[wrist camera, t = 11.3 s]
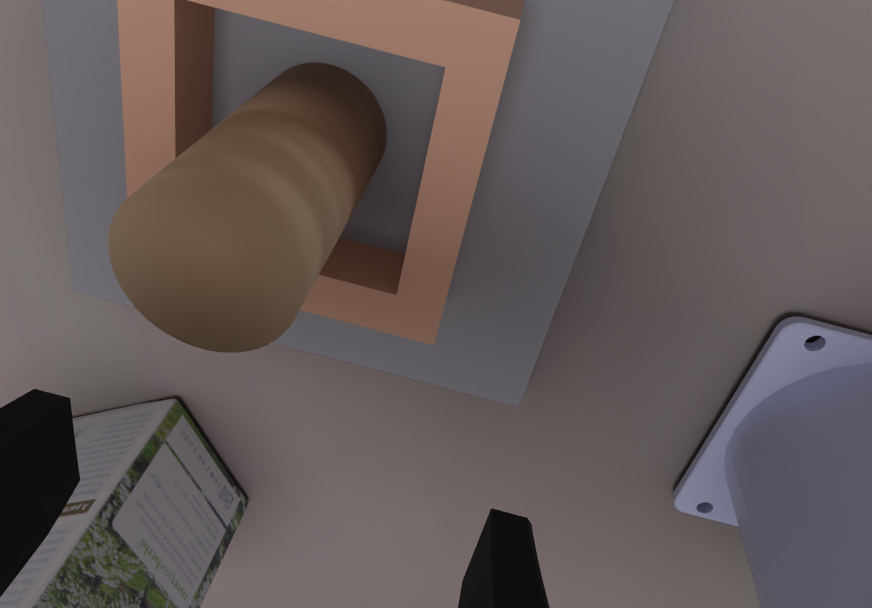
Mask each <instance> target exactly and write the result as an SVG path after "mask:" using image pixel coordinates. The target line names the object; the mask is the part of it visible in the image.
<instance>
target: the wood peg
mask: <svg viewBox="0 0 872 608" xmlns="http://www.w3.org/2000/svg"><path fill="white" fill-rule="evenodd" d="M386 141H387V129H386V122H385V118H384V114H383V112H382V109H381V107H380V105H379V103H378V101H377V99H376V97H375V96H374V95H373V93H372V92H371V90H370V89H369V88H368V87H367V86H366V85H365V84H364V83H363V82H362V81H361V80H360V79H358V78H357V77H356V76H354V75H353V74H351V73H350V72H348V71H346V70H344V69H342V68H340V67H337V66H334V65H330V64H326V63H316V62H314V63H304V64H299V65H296V66H293V67H291V68H289V69H287V70H285V71H283V72H282V73H281V74H280V75H278V76H277V77H276V78H275V79H273V80H272V81H271V82H270V83H268V84H267V85H266V86H265V87H263V88H262V89H261V90H260V91H258V92H257V93H256V94H255V95H254V96H252V97H251V98H250V99H249V100H247V101H246V102H245V103H244V104H242V105H241V106H240V107H239V108H237V109H236V110H235V111H234V112H232V113H231V114H230V115H229V116H228V117H226V118H225V119H224V120H223V121H221V122H220V123H219V124H218V125H216V126H215V127H214V128H213V129H211V130H210V131H209V132H208V133H207V134H205V135H204V136H203V137H202V138H200V139H199V140H198V141H197V142H195V143H194V144H193V145H192V146H190V147H189V148H188V149H187V150H186V151H184V152H183V153H182V154H181V155H179V156H178V157H177V158H176V159H174V160H173V161H172V162H171V163H169V164H168V165H167V166H166V167H165V168H163V169H162V170H161V171H160V172H158V173H157V174H156V175H155V176H153V177H152V178H151V179H150V180H148V181H147V182H146V183H145V184H144V185H142V186H141V187H140V188H139V189H137V190H136V191H135V192H134V193H132V194H131V195H130V196H129V197H127V198H126V199H125V201H124V202H123V203H122V204H121V205H120V206H119V208H118V210H117V211H116V213H115V215H114V217H113V220H112V223H111V225H110V231H109V238H108V248H109V256H110V261H111V265H112V268H113V271H114V274H115V276H116V279H117V281H118V282H119V284H120V286H121V288H122V290H123V291H124V293H125V294H126V296H127V297H128V299H129V300H130V301H131V303H132V304H133V305H134V306H135V307H136V308H137V310H138V311H139V312H140V313H141V314H142V315H143V316H144V317H146V318H147V319H148V320H149V321H150V322H151V323H153V324H154V325H155V326H156V327H158V328H159V329H161V330H162V331H164V332H165V333H167V334H169V335H170V336H172V337H174V338H176V339H178V340H180V341H182V342H185V343H187V344H189V345H192V346H195V347H198V348H202V349H206V350H211V351H217V352H244V351H250V350H254V349H258V348H260V347H263V346H265V345H268V344H269V343H271V342H273V341H275V340H276V339H277V338H279V337H280V336H281V335H282V334H284V332H285V331H286V330H287V329H288V328H289V327H290V326H291V324H292V322H293V321H294V319H295V318H296V316H297V314H298V312H299V310H300V308H301V307H302V305H303V303H304V301H305V299H306V297H307V296H308V294H309V292H310V290H311V288H312V286H313V285H314V283H315V281H316V279H317V277H318V275H319V274H320V272H321V270H322V268H323V266H324V264H325V263H326V261H327V259H328V257H329V255H330V253H331V252H332V250H333V248H334V246H335V244H336V242H337V241H338V239H339V237H340V235H341V233H342V231H343V230H344V228H345V226H346V224H347V222H348V220H349V219H350V217H351V215H352V213H353V211H354V209H355V208H356V206H357V204H358V202H359V200H360V198H361V197H362V195H363V193H364V191H365V189H366V187H367V186H368V184H369V182H370V180H371V178H372V176H373V174H374V173H375V171H376V169H377V167H378V165H379V163H380V162H381V159H382V157H383V155H384V151H385V148H386Z"/></svg>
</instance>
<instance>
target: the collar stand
mask: <svg viewBox="0 0 872 608" xmlns="http://www.w3.org/2000/svg"><path fill="white" fill-rule="evenodd" d="M673 3H674V0H42V8H43V17H44V27H45V36H46V45H47V54H48V63H49V72H50V81H51V90H52V99H53V108H54V118H55V127H56V136H57V145H58V154H59V163H60V172H61V181H62V190H63V200H64V209H65V218H66V227H67V236H68V245H69V254H70V263H71V272H72V282H73V291H75V292H79V293H83V294H87V295H91V296H94V297H98V298H102V299H106V300H110V301H114V302H117V303H121V304H125V305H129V306H133V307H135V306H134V305H133V304H132V303H131V301H130V300H129V299H128V297H127V296H126V294H125V293H124V291H123V290H122V288H121V286H120V284H119V282H118V281H117V279H116V276H115V274H114V271H113V268H112V265H111V261H110V256H109V248H108V238H109V231H110V225H111V223H112V220H113V217H114V215H115V213H116V211H117V210H118V208H119V206H120V205H121V204H122V203H123V202H124V201H125V199H126V198H127V197H129V196H130V195H131V194H132V193H134V192H135V191H136V190H137V189H139V188H140V187H141V186H142V185H144V184H145V183H146V182H147V181H148V180H150V179H151V178H152V177H153V176H155V175H156V174H157V173H158V172H160V171H161V170H162V169H163V168H165V167H166V166H167V165H168V164H169V163H171V162H172V161H173V160H174V159H176V158H177V157H178V156H179V155H181V154H182V153H183V152H184V151H186V150H187V149H188V148H189V147H190V146H192V145H193V144H194V143H195V142H197V141H198V140H199V139H200V138H202V137H203V136H204V135H205V134H207V133H208V132H209V131H210V130H211V129H213V128H214V127H215V126H216V125H218V124H219V123H220V122H221V121H223V120H224V119H225V118H226V117H228V116H229V115H230V114H231V113H232V112H234V111H235V110H236V109H237V108H239V107H240V106H241V105H242V104H244V103H245V102H246V101H247V100H249V99H250V98H251V97H252V96H254V95H255V94H256V93H257V92H258V91H260V90H261V89H262V88H263V87H265V86H266V85H267V84H268V83H270V82H271V81H272V80H273V79H275V78H276V77H277V76H278V75H280V74H281V73H282V72H283V71H285V70H287V69H289V68H291V67H293V66H296V65H299V64H304V63H314V62H316V63H326V64H330V65H334V66H337V67H340V68H342V69H344V70H346V71H348V72H350V73H351V74H353V75H354V76H356V77H357V78H358V79H360V80H361V81H362V82H363V83H364V84H365V85H366V86H367V87H368V88H369V89H370V90H371V92H372V93H373V95H374V96H375V97H376V99H377V101H378V103H379V105H380V107H381V109H382V112H383V114H384V118H385V122H386V129H387V141H386V148H385V151H384V155H383V157H382V159H381V162H380V163H379V165H378V167H377V169H376V171H375V173H374V174H373V176H372V178H371V180H370V182H369V184H368V186H367V187H366V189H365V191H364V193H363V195H362V197H361V198H360V200H359V202H358V204H357V206H356V208H355V209H354V211H353V213H352V215H351V217H350V219H349V220H348V222H347V224H346V226H345V228H344V230H343V231H342V233H341V235H340V237H339V239H338V241H337V242H336V244H335V246H334V248H333V250H332V252H331V253H330V255H329V257H328V259H327V261H326V263H325V264H324V266H323V268H322V270H321V272H320V274H319V275H318V277H317V279H316V281H315V283H314V285H313V286H312V288H311V290H310V292H309V294H308V296H307V297H306V299H305V301H304V303H303V305H302V307H301V308H300V310H299V312H298V314H297V316H296V318H295V319H294V321H293V322H292V324H291V326H290V327H289V328H288V329H287V330H286V331H285V332H284V334H282V335H281V336H280V337H279V338H277V339H276V340H275V341H273V342H271V343H274V344H278V345H282V346H286V347H290V348H294V349H297V350H301V351H305V352H309V353H313V354H317V355H320V356H324V357H328V358H332V359H336V360H340V361H343V362H347V363H351V364H355V365H359V366H362V367H366V368H370V369H374V370H378V371H382V372H385V373H389V374H393V375H397V376H401V377H405V378H408V379H412V380H416V381H420V382H424V383H428V384H431V385H435V386H439V387H443V388H447V389H451V390H454V391H458V392H462V393H466V394H470V395H474V396H477V397H481V398H485V399H489V400H493V401H497V402H500V403H504V404H508V405H512V406H516V407H519V406H520V403H521V400H522V398H523V395H524V393H525V390H526V387H527V385H528V382H529V380H530V377H531V374H532V372H533V369H534V366H535V364H536V361H537V359H538V356H539V353H540V351H541V348H542V346H543V343H544V340H545V338H546V335H547V332H548V330H549V327H550V325H551V322H552V319H553V317H554V314H555V312H556V309H557V306H558V304H559V301H560V298H561V296H562V293H563V291H564V288H565V285H566V283H567V280H568V277H569V275H570V272H571V270H572V267H573V264H574V262H575V259H576V257H577V254H578V251H579V249H580V246H581V243H582V241H583V238H584V236H585V233H586V230H587V228H588V225H589V223H590V220H591V217H592V215H593V212H594V209H595V207H596V204H597V202H598V199H599V196H600V194H601V191H602V189H603V186H604V183H605V181H606V178H607V175H608V173H609V170H610V168H611V165H612V162H613V160H614V157H615V155H616V152H617V149H618V147H619V144H620V141H621V139H622V136H623V134H624V131H625V128H626V126H627V123H628V121H629V118H630V115H631V113H632V110H633V107H634V105H635V102H636V100H637V97H638V94H639V92H640V89H641V87H642V84H643V81H644V79H645V76H646V73H647V71H648V68H649V66H650V63H651V60H652V58H653V55H654V53H655V50H656V47H657V45H658V42H659V39H660V37H661V34H662V32H663V29H664V26H665V24H666V21H667V19H668V16H669V13H670V11H671V8H672V5H673Z"/></svg>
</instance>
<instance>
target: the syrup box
mask: <svg viewBox="0 0 872 608" xmlns="http://www.w3.org/2000/svg"><path fill="white" fill-rule="evenodd" d="M72 419H73V427H74V435H75V443H76V451H77V459H78V466H79V474H80V481H79V483H78V485H77V487H76V488H75V490H74V492H73V494H72V495H71V497H70V499H69V501H68V502H67V504H66V506H65V507H64V509H63V511H62V513H61V514H60V516H59V517H58V519H57V521H56V522H55V524H54V526H53V527H52V529H51V530H50V532H49V534H48V535H47V537H46V538H45V539H44V541H43V542H42V543H41V545H40V546H39V548H38V549H37V550H36V552H35V553H34V554H33V555H32V557H31V558H30V559H29V561H28V562H27V563H26V565H25V566H24V567H23V569H22V570H21V571H20V573H19V574H18V575H17V576H16V578H15V579H14V580H13V582H12V583H11V584H10V586H9V587H8V588H7V589H6V591H5V592H4V593H3V595H2V596H1V597H0V608H200V606H201V604H202V602H203V600H204V598H205V596H206V594H207V591H208V589H209V587H210V585H211V583H212V581H213V579H214V577H215V574H216V572H217V570H218V567H219V565H220V563H221V561H222V559H223V557H224V555H225V552H226V550H227V548H228V545H229V543H230V541H231V539H232V537H233V535H234V534H235V531H236V529H237V527H238V525H239V523H240V521H241V518H242V516H243V514H244V512H245V510H246V507H247V505H248V502H247V500H246V499H245V497H244V496H243V494H242V493H241V491H240V490H239V488H238V487H237V485H236V484H235V483H234V481H233V480H232V478H231V477H230V475H229V474H228V472H227V471H226V470H225V468H224V467H223V465H222V464H221V462H220V461H219V460H218V458H217V456H216V455H215V454H214V452H213V450H212V449H211V447H210V446H209V444H208V443H207V442H206V440H205V439H204V437H203V436H202V435H201V433H200V432H199V430H198V428H197V427H196V425H195V424H194V422H193V421H192V419H191V418H190V416H189V415H188V413H187V412H186V411H185V409H184V408H183V406H182V405H181V404H180V402H179V401H178V400H177V399H168V400H162V401H155V402H150V403H143V404H138V405H133V406H129V407H124V408H119V409H115V410H110V411H105V412H100V413H95V414H91V415H86V416H81V417H77V418H72Z"/></svg>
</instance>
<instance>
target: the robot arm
mask: <svg viewBox="0 0 872 608" xmlns="http://www.w3.org/2000/svg"><path fill="white" fill-rule="evenodd" d="M812 336H820V338H819V339H818V340H817V341H814V342H812V343H805V341H806V340H807V339H808V338H809V337H812ZM79 481H80V474H79V466H78V459H77V451H76V443H75V435H74V427H73V419H72V411H71V404H70V398H67V397H64V396H60V395H56V394H52V393H48V392H44V391H41V390H37V389H33V390H32V391H30V392H28V393H26V394H24V395H23V396H21V397H19V398H17V399H16V400H14V401H12V402H10V403H8V404H7V405H5V406H3V407H2V408H0V597H1V596H2V595H3V593H4V592H5V591H6V589H7V588H8V587H9V586H10V584H11V583H12V582H13V580H14V579H15V578H16V576H17V575H18V574H19V573H20V571H21V570H22V569H23V567H24V566H25V565H26V563H27V562H28V561H29V559H30V558H31V557H32V555H33V554H34V553H35V552H36V550H37V549H38V548H39V546H40V545H41V543H42V542H43V541H44V539H45V538H46V537H47V535H48V534H49V532H50V530H51V529H52V527H53V526H54V524H55V522H56V521H57V519H58V517H59V516H60V514H61V513H62V511H63V509H64V507H65V506H66V504H67V502H68V501H69V499H70V497H71V495H72V494H73V492H74V490H75V488H76V487H77V485H78V483H79ZM673 501H674V505H675V507H676V508H677V509H678V510H679V511H681V512H684V513H688V514H691V515H695V516H699V517H703V518H707V519H711V520H714V521H718V522H722V523H726V524H730V525H734V526H737V527H739V529H740V533H741V536H742V540H743V543H744V547H745V551H746V554H747V558H748V561H749V565H750V569H751V572H752V576H753V580H754V583H755V587H756V590H757V594H758V598H759V601H760V605H761V608H872V335H870V334H866V333H862V332H858V331H854V330H850V329H847V328H843V327H839V326H835V325H831V324H827V323H824V322H820V321H816V320H812V319H808V318H804V317H796V316H795V317H790V318H786V319H785V320H783V321H781V322H780V323H779V324H778V325H777V326H776V327H775V329H774V331H773V332H772V334H771V335H770V337H769V339H768V340H767V342H766V344H765V345H764V347H763V348H762V350H761V352H760V353H759V355H758V356H757V358H756V360H755V361H754V363H753V365H752V366H751V368H750V369H749V371H748V373H747V374H746V376H745V378H744V379H743V381H742V382H741V384H740V386H739V387H738V389H737V390H736V392H735V394H734V395H733V397H732V399H731V400H730V402H729V403H728V405H727V407H726V408H725V410H724V411H723V413H722V415H721V416H720V418H719V420H718V421H717V423H716V424H715V426H714V428H713V429H712V431H711V433H710V434H709V436H708V437H707V439H706V441H705V442H704V444H703V445H702V447H701V449H700V450H699V452H698V454H697V455H696V457H695V458H694V460H693V462H692V463H691V465H690V467H689V468H688V470H687V471H686V473H685V475H684V476H683V478H682V479H681V481H680V483H679V484H678V486H677V488H676V489H675V491H674V493H673ZM703 502H707V503H705V504H700V503H703ZM458 608H549V604H548V600H547V596H546V592H545V588H544V584H543V580H542V576H541V572H540V567H539V563H538V558H537V553H536V548H535V543H534V537H533V531H532V525H531V523H530V521H529V520H528V518H526V517H522V516H518V515H514V514H510V513H507V512H503V511H499V510H495V509H491V510H490V513H489V516H488V518H487V521H486V523H485V526H484V528H483V531H482V533H481V536H480V538H479V541H478V543H477V546H476V548H475V551H474V553H473V556H472V558H471V561H470V563H469V566H468V568H467V571H466V574H465V576H464V579H463V582H462V588H461V593H460V599H459V605H458Z"/></svg>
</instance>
